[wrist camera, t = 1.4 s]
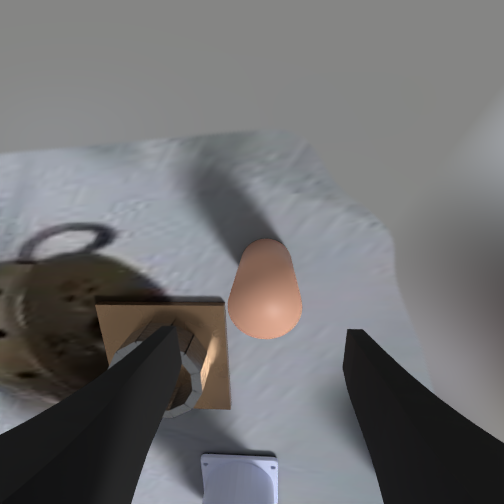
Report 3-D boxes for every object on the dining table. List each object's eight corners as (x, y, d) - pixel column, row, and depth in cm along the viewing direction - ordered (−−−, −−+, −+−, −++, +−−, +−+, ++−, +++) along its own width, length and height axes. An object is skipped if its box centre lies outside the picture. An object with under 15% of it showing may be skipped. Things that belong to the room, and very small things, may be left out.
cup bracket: (231, 404, 25) (226, 435, 22) (121, 400, 26) (102, 430, 23) (224, 302, 22) (217, 322, 19) (99, 301, 23) (74, 321, 20)
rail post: (290, 286, 21) (301, 339, 15) (241, 285, 21) (229, 338, 15) (291, 238, 20) (303, 272, 13) (240, 238, 20) (225, 272, 14)
